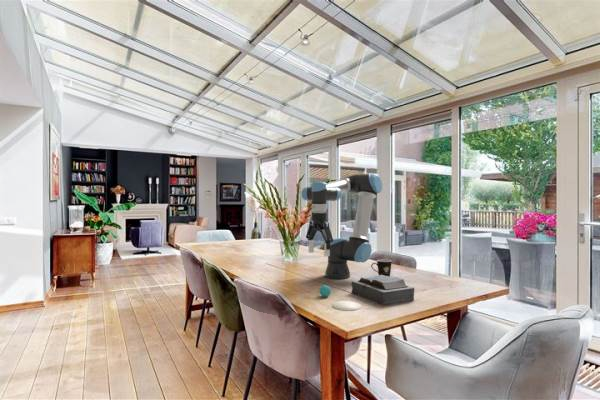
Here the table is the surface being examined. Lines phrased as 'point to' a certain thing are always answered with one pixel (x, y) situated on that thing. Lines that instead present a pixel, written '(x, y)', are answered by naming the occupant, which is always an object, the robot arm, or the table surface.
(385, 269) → the coffee mug
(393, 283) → the bible
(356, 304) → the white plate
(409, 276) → the table surface
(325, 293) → the ball
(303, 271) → the table surface
